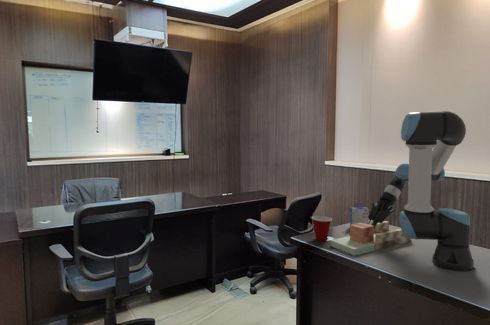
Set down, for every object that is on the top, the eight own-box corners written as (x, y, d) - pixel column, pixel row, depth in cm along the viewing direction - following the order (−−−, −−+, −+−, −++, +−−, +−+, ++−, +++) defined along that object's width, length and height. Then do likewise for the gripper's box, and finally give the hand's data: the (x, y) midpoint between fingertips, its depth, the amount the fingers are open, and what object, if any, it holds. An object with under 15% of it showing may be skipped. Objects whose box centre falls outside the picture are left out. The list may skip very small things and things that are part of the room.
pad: (349, 241, 179) (349, 235, 179) (374, 250, 165) (374, 244, 165) (330, 245, 173) (330, 240, 173) (354, 255, 159) (354, 249, 159)
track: (385, 233, 191) (386, 220, 191) (411, 240, 177) (411, 227, 177) (349, 241, 179) (349, 228, 178) (374, 250, 165) (374, 236, 164)
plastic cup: (335, 241, 179) (335, 219, 178) (315, 243, 178) (315, 220, 176) (327, 235, 190) (327, 214, 189) (308, 237, 188) (308, 215, 187)
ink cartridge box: (366, 226, 205) (366, 202, 204) (369, 229, 200) (369, 204, 199) (349, 227, 206) (349, 203, 204) (352, 229, 200) (352, 205, 199)
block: (360, 236, 177) (360, 222, 176) (373, 240, 170) (373, 225, 169) (349, 239, 173) (349, 225, 172) (363, 243, 166) (363, 228, 165)
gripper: (404, 202, 176) (381, 239, 170) (383, 198, 188) (361, 232, 182) (397, 193, 173) (373, 230, 167) (376, 189, 185) (353, 224, 179)
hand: (367, 231), depth 175 cm, fingers closed
